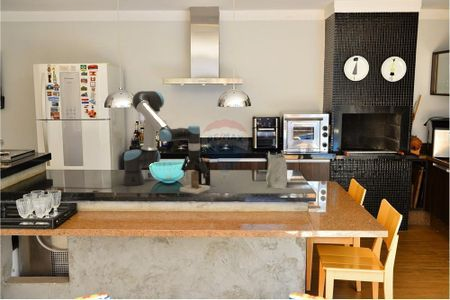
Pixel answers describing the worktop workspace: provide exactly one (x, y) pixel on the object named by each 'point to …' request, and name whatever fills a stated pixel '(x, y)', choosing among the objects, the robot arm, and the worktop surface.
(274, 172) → the grocery bag
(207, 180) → the coffee jar
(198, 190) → the candle dish
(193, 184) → the wooden wedge
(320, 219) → the worktop surface
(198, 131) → the robot arm
